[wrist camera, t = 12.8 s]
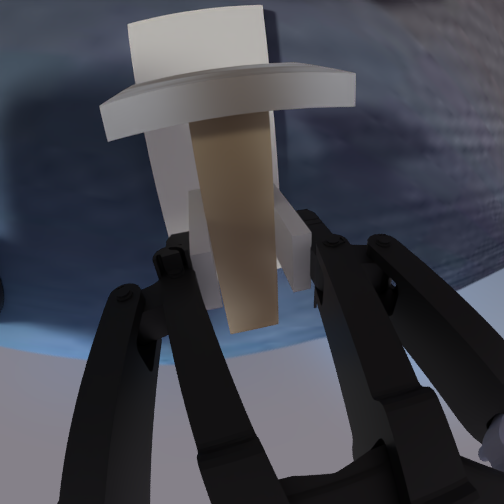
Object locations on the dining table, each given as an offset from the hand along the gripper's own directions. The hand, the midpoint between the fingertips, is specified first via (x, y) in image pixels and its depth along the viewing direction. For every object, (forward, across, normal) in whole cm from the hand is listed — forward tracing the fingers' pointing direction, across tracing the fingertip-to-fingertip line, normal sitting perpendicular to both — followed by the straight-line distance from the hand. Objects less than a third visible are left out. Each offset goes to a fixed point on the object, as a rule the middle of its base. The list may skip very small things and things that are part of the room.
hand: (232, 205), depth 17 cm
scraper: (0, 0, 0) cm, 0 cm away
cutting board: (+9, 0, +1) cm, 9 cm away
